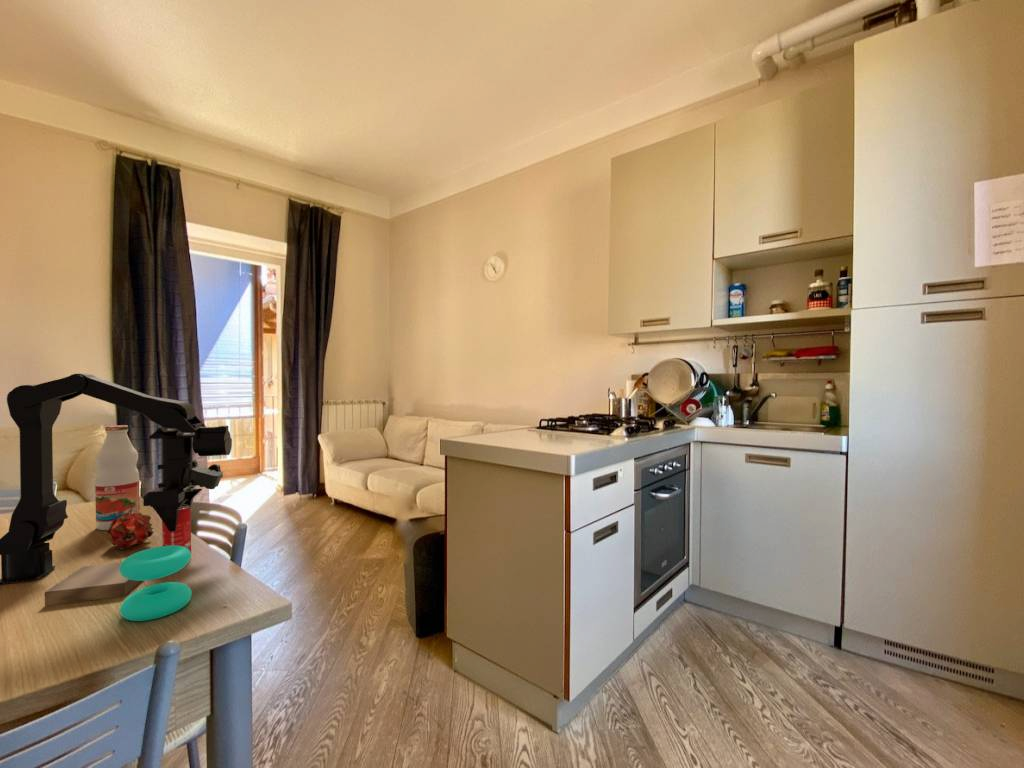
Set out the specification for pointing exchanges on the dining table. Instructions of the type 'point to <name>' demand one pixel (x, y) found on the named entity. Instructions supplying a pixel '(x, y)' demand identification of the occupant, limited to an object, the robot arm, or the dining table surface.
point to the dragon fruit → (130, 530)
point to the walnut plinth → (90, 585)
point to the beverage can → (179, 530)
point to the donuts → (157, 596)
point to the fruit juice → (116, 478)
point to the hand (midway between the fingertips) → (178, 526)
